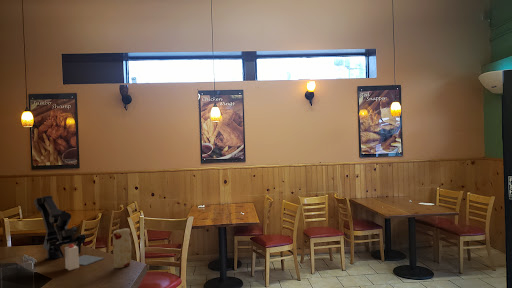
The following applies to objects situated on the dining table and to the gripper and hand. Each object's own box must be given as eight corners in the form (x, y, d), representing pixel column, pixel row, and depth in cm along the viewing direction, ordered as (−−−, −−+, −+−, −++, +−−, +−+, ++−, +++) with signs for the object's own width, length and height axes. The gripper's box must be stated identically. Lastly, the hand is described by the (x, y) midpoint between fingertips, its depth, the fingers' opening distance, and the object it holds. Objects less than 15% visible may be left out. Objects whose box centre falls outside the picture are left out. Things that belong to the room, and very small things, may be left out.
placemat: (65, 262, 206) (65, 261, 206) (84, 256, 217) (84, 254, 217) (85, 265, 199) (85, 264, 199) (103, 258, 210) (103, 257, 210)
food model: (117, 270, 189) (115, 231, 189) (111, 268, 194) (109, 229, 193) (134, 265, 197) (133, 227, 196) (128, 262, 201) (126, 226, 201)
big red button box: (65, 268, 196) (64, 244, 196) (75, 265, 200) (74, 242, 200) (69, 270, 193) (68, 246, 193) (79, 267, 197) (78, 244, 196)
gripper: (47, 226, 193) (56, 250, 186) (84, 219, 207) (93, 242, 199) (43, 238, 199) (51, 263, 191) (79, 231, 212) (88, 254, 205)
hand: (71, 255), depth 196 cm, fingers open, 8 cm apart
